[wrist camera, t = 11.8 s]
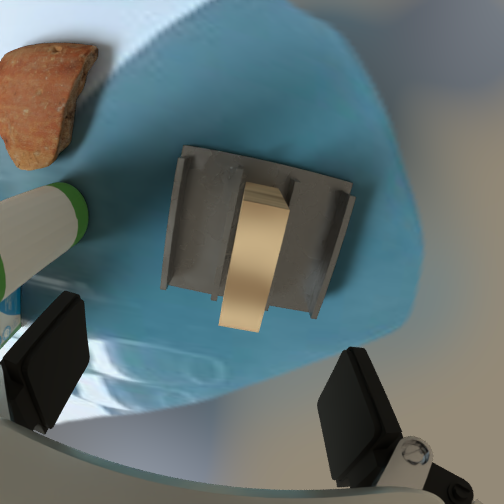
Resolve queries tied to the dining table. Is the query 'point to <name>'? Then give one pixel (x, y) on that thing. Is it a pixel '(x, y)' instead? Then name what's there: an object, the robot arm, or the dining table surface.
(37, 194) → the wine bottle
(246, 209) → the oak board
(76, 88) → the ceramic shard
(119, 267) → the dining table surface
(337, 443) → the robot arm
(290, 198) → the rack
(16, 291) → the milk carton
